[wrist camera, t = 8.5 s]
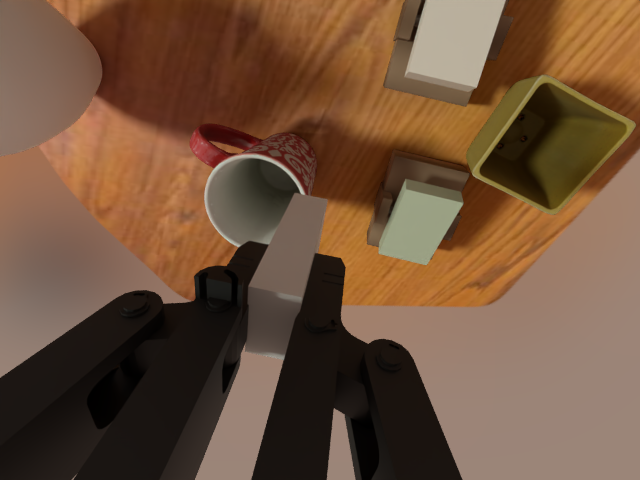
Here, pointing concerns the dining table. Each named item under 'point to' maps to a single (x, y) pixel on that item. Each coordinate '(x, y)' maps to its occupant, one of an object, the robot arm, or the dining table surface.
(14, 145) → the vase
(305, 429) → the robot arm
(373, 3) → the dining table surface
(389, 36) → the dining table surface
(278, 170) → the mug
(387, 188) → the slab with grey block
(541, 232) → the dining table surface
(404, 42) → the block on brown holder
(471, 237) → the dining table surface
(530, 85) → the flower pot
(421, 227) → the rocker green
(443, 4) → the block
